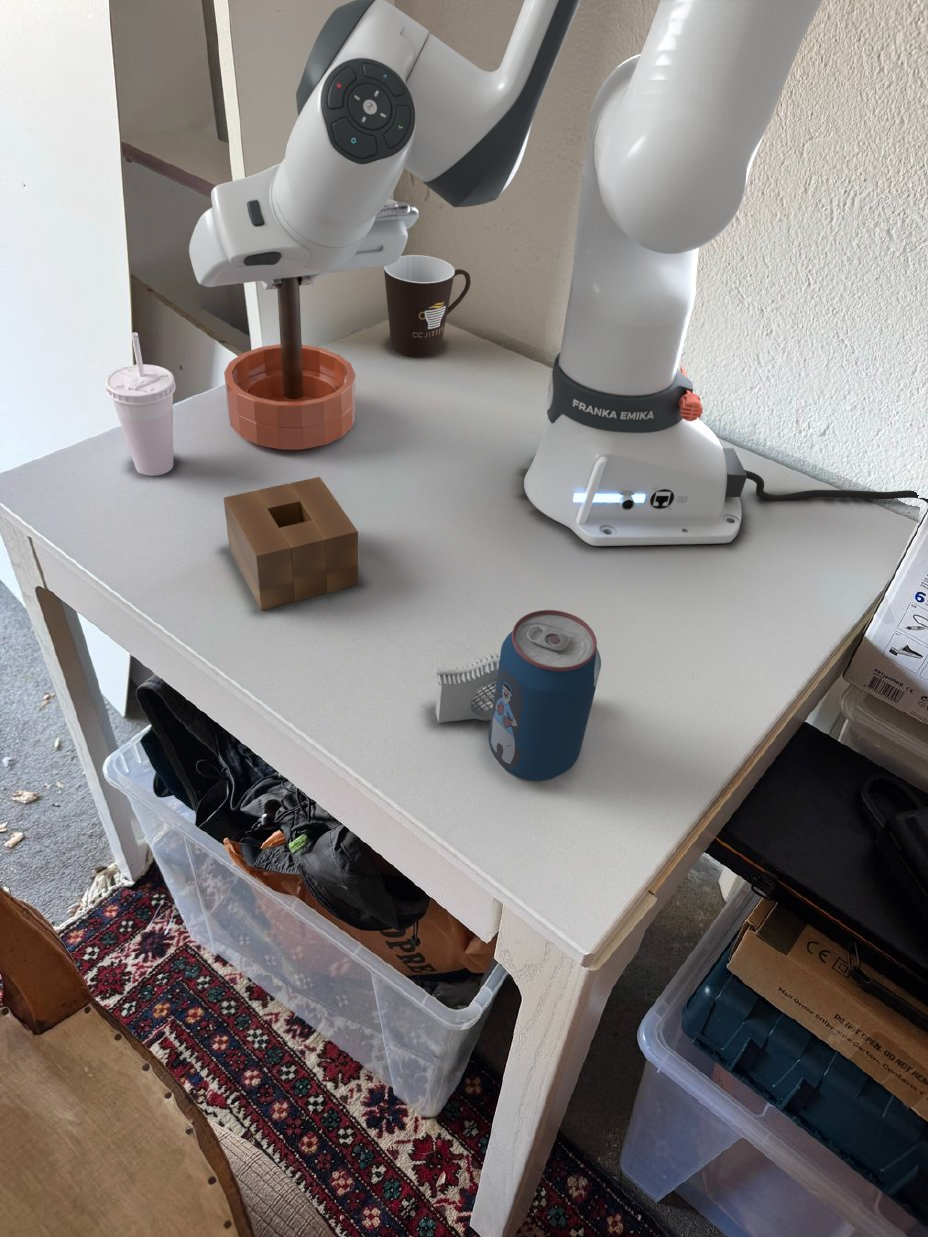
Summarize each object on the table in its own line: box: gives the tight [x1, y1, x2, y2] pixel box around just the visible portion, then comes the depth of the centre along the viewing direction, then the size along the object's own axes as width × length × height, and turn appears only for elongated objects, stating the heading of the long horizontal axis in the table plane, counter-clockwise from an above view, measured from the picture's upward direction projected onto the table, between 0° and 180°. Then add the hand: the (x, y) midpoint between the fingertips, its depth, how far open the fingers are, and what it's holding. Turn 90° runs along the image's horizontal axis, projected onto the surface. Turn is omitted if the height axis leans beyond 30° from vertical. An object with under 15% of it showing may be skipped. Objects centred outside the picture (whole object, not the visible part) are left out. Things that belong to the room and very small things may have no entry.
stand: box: [223, 476, 359, 611], centre depth 82 cm, size 9×9×6 cm
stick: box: [276, 277, 304, 399], centre depth 94 cm, size 2×2×22 cm
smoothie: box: [104, 332, 177, 477], centre depth 90 cm, size 6×6×14 cm
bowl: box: [223, 343, 357, 451], centre depth 101 cm, size 14×14×6 cm
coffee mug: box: [383, 254, 472, 358], centre depth 116 cm, size 12×9×10 cm
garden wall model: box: [434, 653, 501, 724], centre depth 71 cm, size 12×2×6 cm, turn 102°
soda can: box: [488, 609, 602, 783], centre depth 66 cm, size 7×7×12 cm
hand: (285, 280), depth 94 cm, fingers closed on stick, 2 cm apart
